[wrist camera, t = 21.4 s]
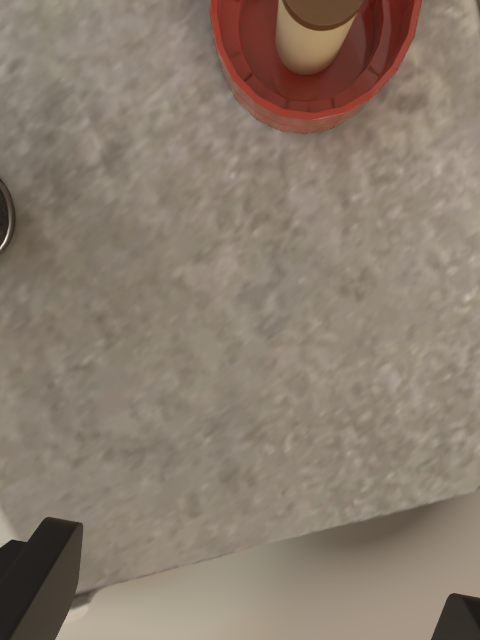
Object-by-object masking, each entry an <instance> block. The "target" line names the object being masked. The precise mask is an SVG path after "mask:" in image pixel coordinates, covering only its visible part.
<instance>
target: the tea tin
mask: <svg viewBox="0 0 480 640" xmlns="http://www.w3.org/2000/svg"><path fill="white" fill-rule="evenodd" d="M364 1H365V0H279V2H278V14H277V25H276V36H275V43H276V49H277V53H278V56H279V58H280V60H281V61H282V63H283V64H284V65H285V66H286V67H287V68H288V69H289V70H291V71H292V72H294V73H297V74H300V75H313V74H317V73H319V72H321V71H323V70H324V69H326V68H327V67H328V66H329V65H330V64H331V63H332V62H333V61H334V59H335V58H336V56H337V54H338V52H339V50H340V48H341V46H342V44H343V42H344V39H345V37H346V35H347V33H348V31H349V29H350V27H351V25H352V23H353V21H354V18H355V16H356V14H357V12H358V11H359V10H360V8H361V7H362V5H363V3H364Z"/></svg>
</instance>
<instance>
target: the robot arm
mask: <svg viewBox="0 0 480 640" xmlns="http://www.w3.org/2000/svg"><path fill="white" fill-rule="evenodd" d="M14 226H15V213H14V207H13V203H12V200H11V197H10V195H9V193H8V191H7V189H6V187H5V186H4V184H3V183H2V182H1V180H0V253H2V252H3V251H4V249H5V248H6V247H7V245H8V244H9V242H10V240H11V238H12V235H13V231H14ZM82 537H83V524H82V523H79V522H73V521H68V520H63V519H57V518H52V517H46V518H45V519H44V520H43V521H42V522H41V524H40V525H39V526H38V528H37V529H36V531H35V532H34V533H33V535H32V536H31V538H30V539H29V540H28V542H23V541H17V540H10V541H9V542H8V543H6V544H5V545H3V546H2V547H1V548H0V640H55V639H56V637H57V635H58V632H59V630H60V628H61V626H62V624H63V622H64V620H65V618H66V616H67V614H68V612H69V609H70V607H71V604H72V601H73V599H74V595H75V592H76V588H77V584H78V579H79V569H80V558H81V548H82ZM431 640H480V598H477V597H472V596H467V595H461V594H455V593H453V594H451V595H449V597H448V598H447V600H446V603H445V606H444V608H443V611H442V613H441V616H440V618H439V621H438V623H437V626H436V628H435V631H434V633H433V637H432V639H431Z"/></svg>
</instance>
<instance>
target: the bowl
mask: <svg viewBox="0 0 480 640" xmlns="http://www.w3.org/2000/svg"><path fill="white" fill-rule="evenodd" d="M278 2H279V0H211V4H210V16H211V22H212V27H213V33H214V38H215V44H216V49H217V53H218V56H219V60H220V64H221V68H222V71H223V74H224V76H225V78H226V80H227V82H228V84H229V86H230V88H231V90H232V92H233V94H234V96H235V98H236V99H237V100H238V101H239V102H240V103H241V104H242V106H243V107H244V108H245V109H246V110H247V111H248V112H249V113H250V114H251V115H252V116H253V117H254V118H256V119H257V120H259V121H261V122H263V123H265V124H267V125H269V126H271V127H273V128H275V129H277V130H280V131H287V132H295V133H303V134H308V133H313V132H317V131H322V130H326V129H331V128H334V127H335V126H337V125H339V124H341V123H342V122H344V121H346V120H347V119H349V118H351V117H352V116H354V115H356V114H357V113H358V112H359V111H360V110H361V109H362V108H363V107H364V106H365V105H366V104H367V103H368V102H369V101H370V100H371V98H372V97H373V96H374V95H375V94H376V93H377V92H378V91H379V90H380V89H381V88H382V87H383V86H384V84H385V83H386V82H387V81H388V80H389V79H390V78H391V77H392V76H393V75H394V74H395V72H396V71H397V70H398V68H399V66H400V64H401V62H402V60H403V58H404V56H405V54H406V52H407V50H408V48H409V46H410V45H411V43H412V41H413V39H414V36H415V31H416V26H417V21H418V16H419V11H420V7H421V2H422V0H365V1H364V3H363V5H362V7H361V8H360V10H359V11H358V12H357V14H356V16H355V18H354V21H353V23H352V25H351V27H350V29H349V31H348V33H347V35H346V37H345V39H344V42H343V44H342V46H341V48H340V50H339V52H338V54H337V56H336V58H335V59H334V61H333V62H332V63H331V64H330V65H329V66H328V67H327V68H326V69H324V70H323V71H321V72H319V73H317V74H313V75H300V74H297V73H294V72H292V71H291V70H289V69H288V68H287V67H286V66H285V65H284V64H283V63H282V61H281V60H280V58H279V56H278V53H277V49H276V43H275V36H276V25H277V14H278Z"/></svg>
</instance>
